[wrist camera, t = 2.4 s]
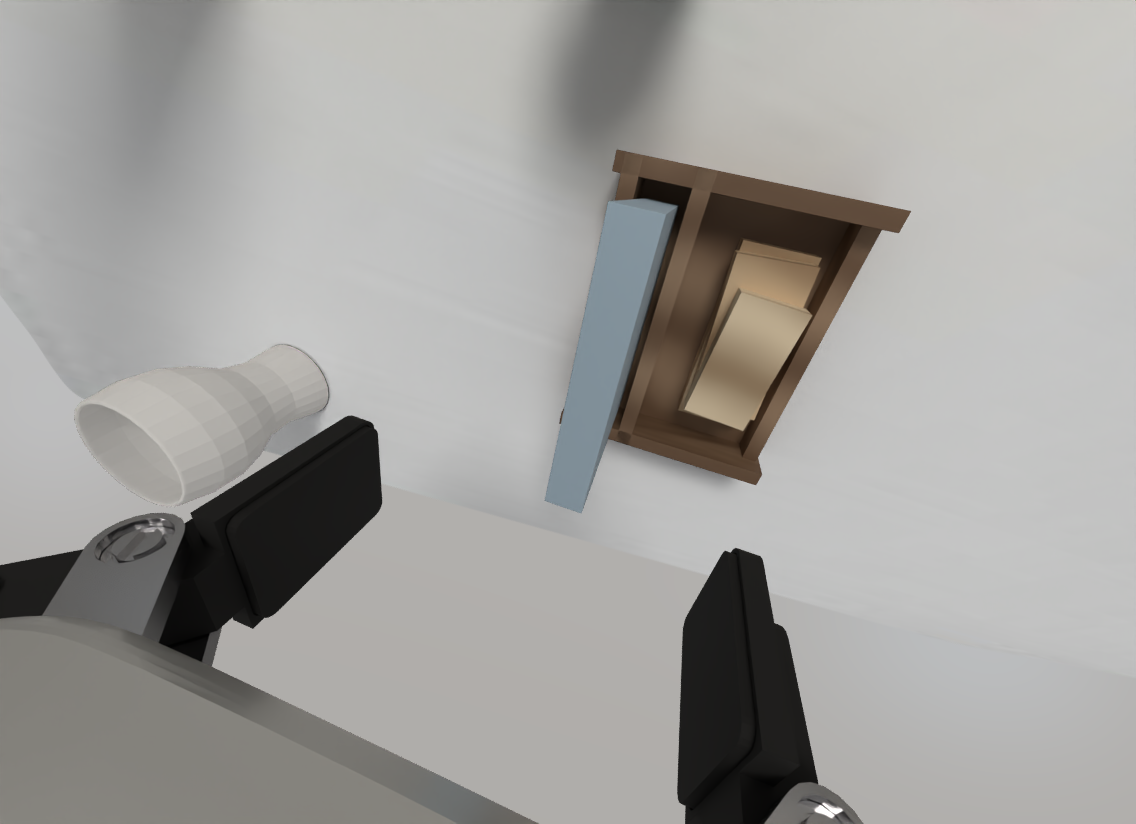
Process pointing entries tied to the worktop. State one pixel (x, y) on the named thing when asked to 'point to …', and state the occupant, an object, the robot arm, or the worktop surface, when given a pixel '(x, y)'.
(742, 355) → the offcut top
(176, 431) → the cup
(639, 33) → the worktop surface
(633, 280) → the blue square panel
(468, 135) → the worktop surface
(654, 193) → the rack
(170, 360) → the worktop surface
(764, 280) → the offcut middle
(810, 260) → the block
